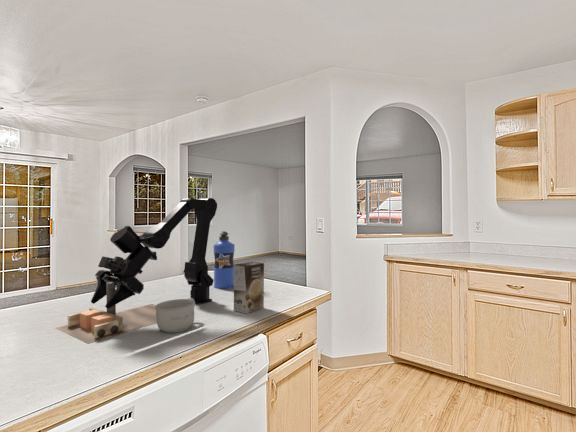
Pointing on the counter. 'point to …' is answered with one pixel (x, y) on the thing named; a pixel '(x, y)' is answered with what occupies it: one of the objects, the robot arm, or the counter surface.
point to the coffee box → (248, 287)
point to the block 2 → (100, 320)
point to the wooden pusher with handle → (105, 327)
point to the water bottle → (223, 262)
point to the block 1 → (87, 318)
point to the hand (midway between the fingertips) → (99, 305)
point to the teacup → (175, 315)
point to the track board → (130, 322)
